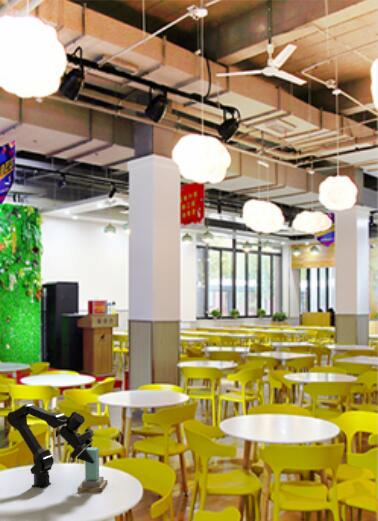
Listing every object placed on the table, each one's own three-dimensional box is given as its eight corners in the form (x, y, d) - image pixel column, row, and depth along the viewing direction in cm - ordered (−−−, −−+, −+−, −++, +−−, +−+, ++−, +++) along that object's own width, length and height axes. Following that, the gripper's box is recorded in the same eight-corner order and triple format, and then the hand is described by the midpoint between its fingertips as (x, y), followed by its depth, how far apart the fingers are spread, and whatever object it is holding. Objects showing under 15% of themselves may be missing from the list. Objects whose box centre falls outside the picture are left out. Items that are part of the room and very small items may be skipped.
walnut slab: (77, 493, 258) (77, 487, 258) (84, 485, 269) (84, 480, 269) (101, 493, 257) (101, 487, 257) (107, 485, 268) (107, 480, 268)
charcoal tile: (82, 486, 259) (81, 482, 260) (86, 481, 267) (86, 476, 268) (99, 486, 259) (99, 482, 259) (103, 481, 267) (103, 476, 267)
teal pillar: (85, 479, 261) (84, 450, 262) (88, 476, 266) (87, 447, 267) (96, 479, 261) (95, 450, 262) (99, 476, 266) (98, 447, 267)
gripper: (77, 428, 256) (102, 453, 254) (88, 419, 275) (111, 443, 273) (60, 446, 256) (84, 472, 255) (72, 436, 275) (95, 460, 273)
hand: (95, 461), depth 264 cm, fingers open, 5 cm apart
